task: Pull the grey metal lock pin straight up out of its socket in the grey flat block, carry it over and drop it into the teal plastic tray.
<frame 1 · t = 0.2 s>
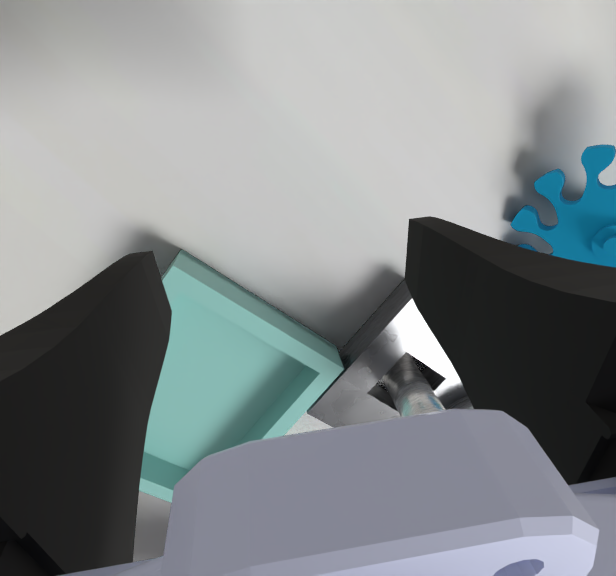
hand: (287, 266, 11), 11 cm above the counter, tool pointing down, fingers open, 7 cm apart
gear: (560, 229, 24), on the counter
tray: (199, 384, 25), on the counter
lock pin: (396, 366, 27), resting in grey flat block
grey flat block: (426, 386, 28), on the counter
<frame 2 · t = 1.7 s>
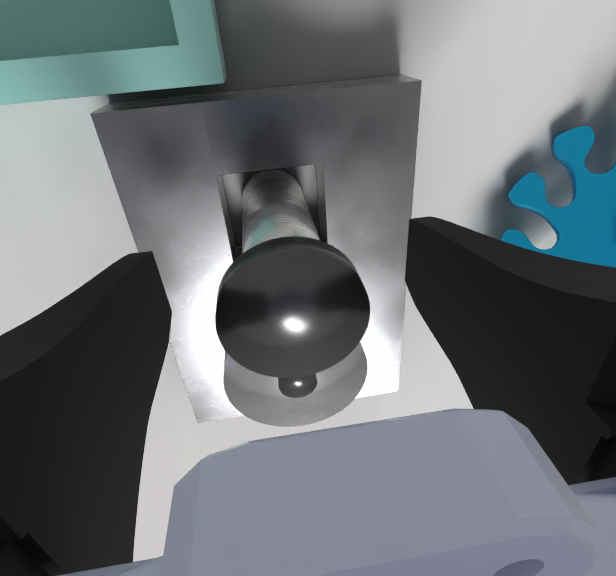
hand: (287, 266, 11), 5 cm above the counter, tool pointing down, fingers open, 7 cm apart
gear: (562, 208, 18), on the counter
lock pin: (272, 199, 16), resting in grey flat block
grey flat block: (281, 264, 18), on the counter
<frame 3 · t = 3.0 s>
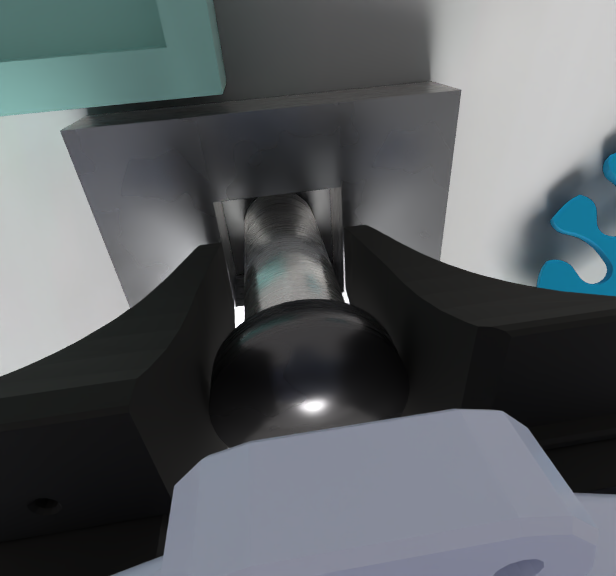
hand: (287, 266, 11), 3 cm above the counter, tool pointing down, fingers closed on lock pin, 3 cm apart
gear: (607, 233, 16), on the counter
lock pin: (279, 224, 14), resting in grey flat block, touching gripper
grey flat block: (288, 295, 15), on the counter
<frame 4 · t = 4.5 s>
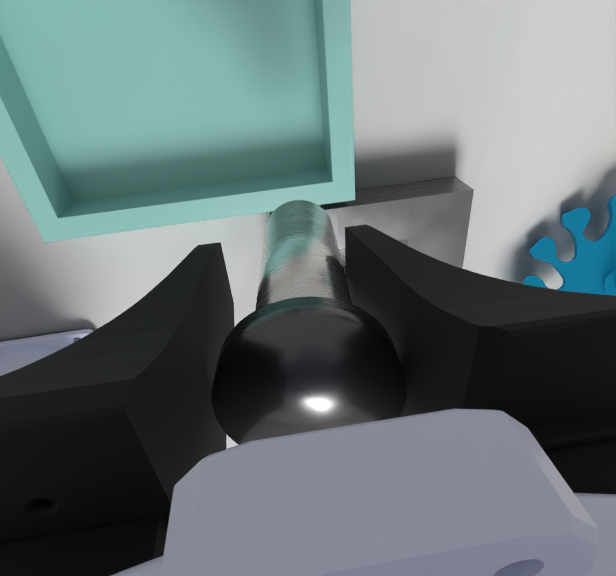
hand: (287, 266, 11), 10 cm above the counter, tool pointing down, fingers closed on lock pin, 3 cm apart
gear: (566, 257, 25), on the counter
tray: (178, 78, 17), on the counter
lock pin: (299, 232, 14), point 7 cm above the counter, tilted 6°, touching gripper
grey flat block: (364, 298, 25), on the counter
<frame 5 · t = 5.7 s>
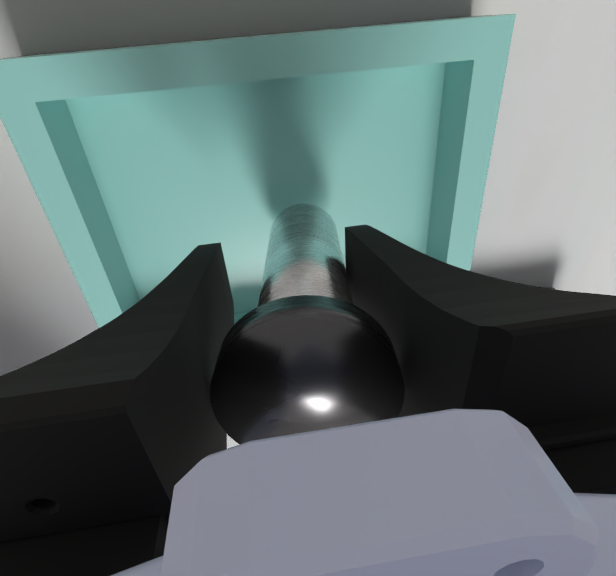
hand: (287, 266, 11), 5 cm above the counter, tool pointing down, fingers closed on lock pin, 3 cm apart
tray: (276, 203, 15), on the counter
lock pin: (303, 236, 14), point 2 cm above the counter, tilted 7°, touching gripper
when the fingers open (5 cm above the counter, at t = 6.3 s): lock pin drops 1 cm, resting on tray.
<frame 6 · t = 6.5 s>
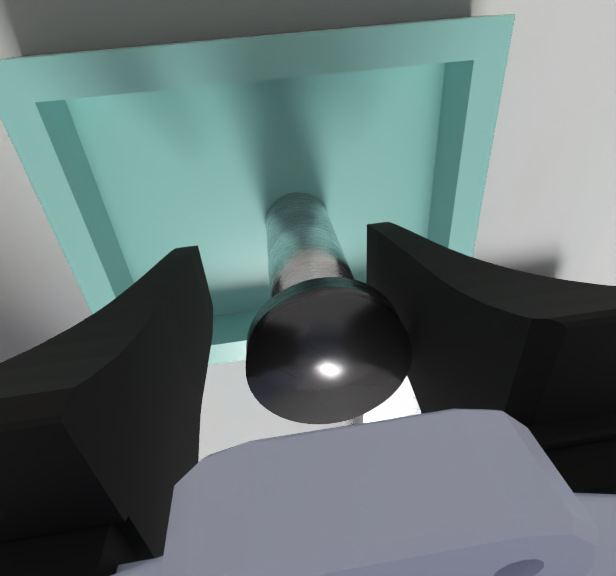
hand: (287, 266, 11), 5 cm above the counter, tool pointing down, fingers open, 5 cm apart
tray: (276, 203, 15), on the counter
lock pin: (297, 222, 15), point 1 cm above the counter, touching gripper, tray
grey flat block: (439, 399, 23), on the counter
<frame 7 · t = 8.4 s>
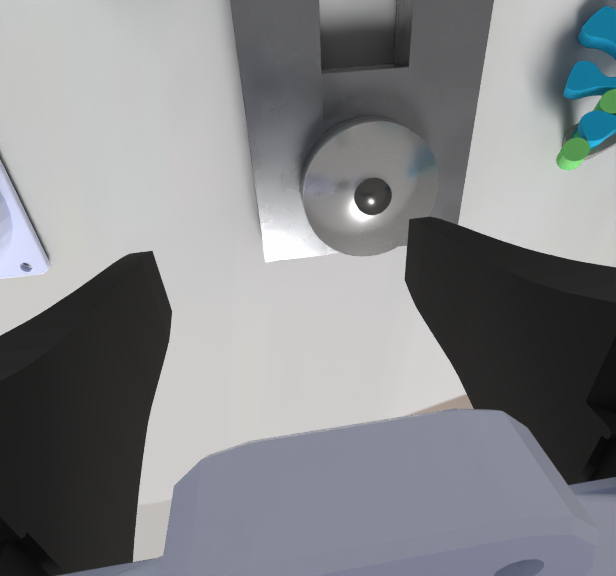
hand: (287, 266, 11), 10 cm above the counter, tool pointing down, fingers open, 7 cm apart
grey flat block: (354, 96, 18), on the counter
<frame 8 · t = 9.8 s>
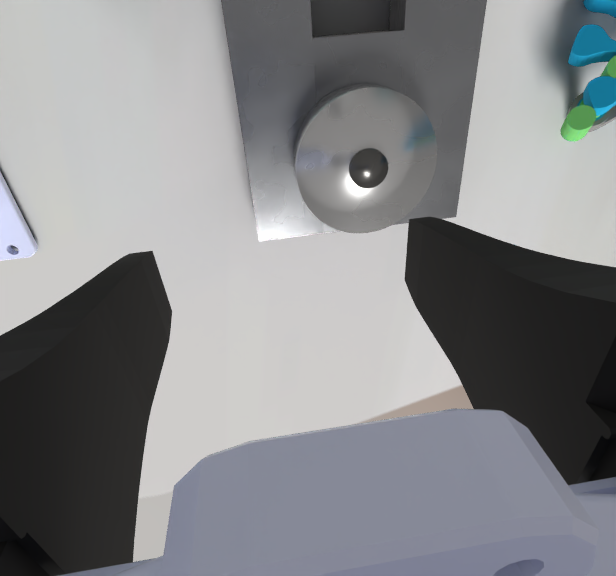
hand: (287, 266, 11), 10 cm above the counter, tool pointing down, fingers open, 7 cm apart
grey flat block: (348, 65, 18), on the counter
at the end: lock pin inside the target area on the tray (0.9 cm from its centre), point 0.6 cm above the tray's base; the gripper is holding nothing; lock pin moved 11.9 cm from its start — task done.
